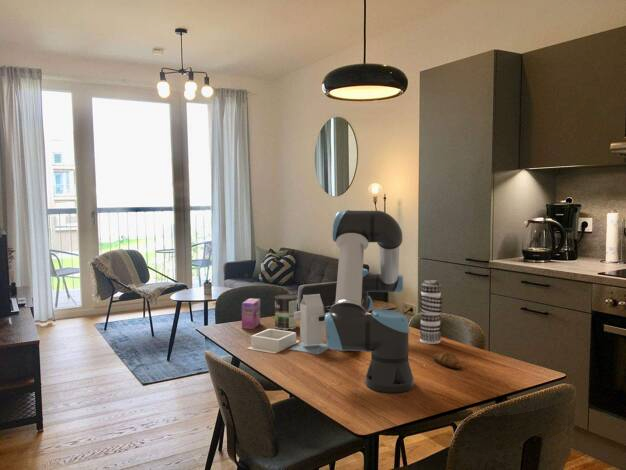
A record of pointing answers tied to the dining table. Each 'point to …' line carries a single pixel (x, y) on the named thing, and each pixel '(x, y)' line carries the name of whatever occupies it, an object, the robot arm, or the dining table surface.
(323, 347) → the mat
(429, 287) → the round tower model
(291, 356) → the dining table surface
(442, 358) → the croissant
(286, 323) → the coffee can
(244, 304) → the box
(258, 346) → the white tray
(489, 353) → the dining table surface
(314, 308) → the milk carton
